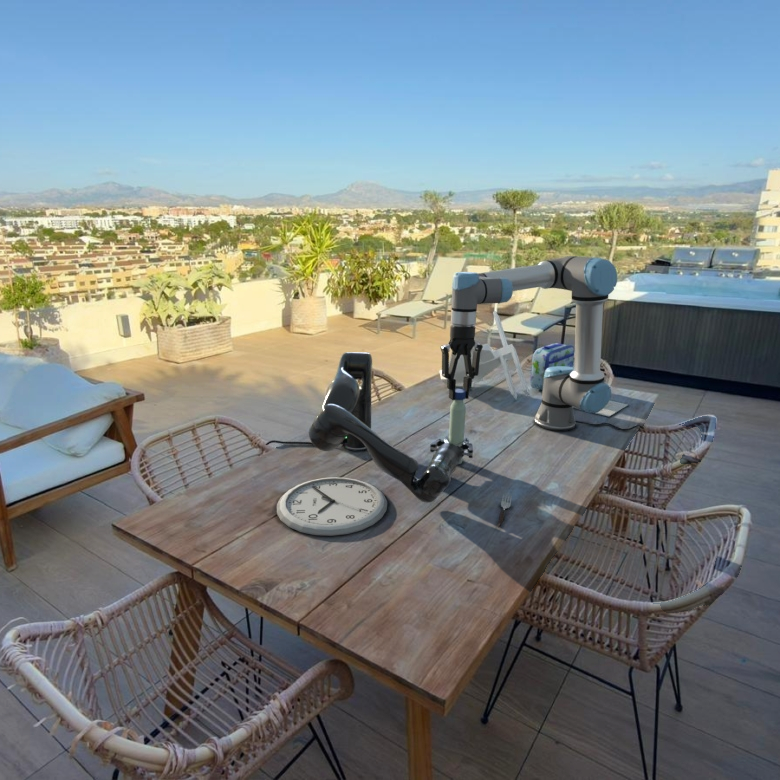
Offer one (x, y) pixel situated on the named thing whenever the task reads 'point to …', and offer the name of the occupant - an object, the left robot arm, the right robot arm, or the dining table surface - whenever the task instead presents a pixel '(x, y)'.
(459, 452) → the left robot arm
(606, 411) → the invitation card
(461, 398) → the cap
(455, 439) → the bottle
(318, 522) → the wall clock
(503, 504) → the fork
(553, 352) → the lunch box
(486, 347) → the white plastic object
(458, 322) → the right robot arm
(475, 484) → the dining table surface
